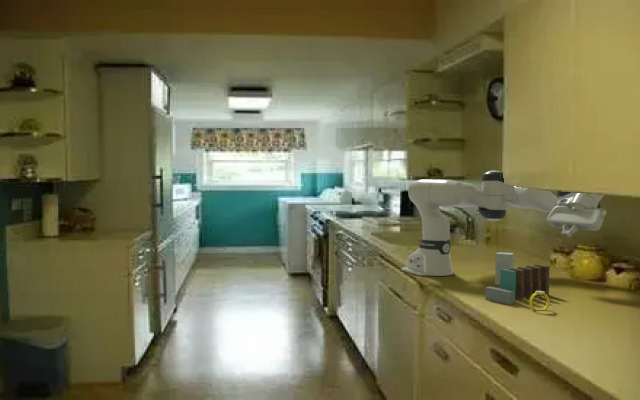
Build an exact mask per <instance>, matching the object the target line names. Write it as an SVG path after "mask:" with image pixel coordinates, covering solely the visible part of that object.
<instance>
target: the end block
mask: <svg viewBox="0 0 640 400" xmlns="http://www.w3.org/2000/svg"><path fill="white" fill-rule="evenodd" d="M484 290H485V295H484V296H485V297H484V300H488V301H491V300H492V301H491V302H497V303H500V302H501V303H500V304H504V303H505V305H515V301H516V299H515V292H514V291H510V290H505V289H500V287H499V288H498V287H493V286H485V289H484ZM514 300H515V301H514Z"/></svg>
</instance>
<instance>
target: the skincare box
mask: <svg viewBox="0 0 640 400" xmlns="http://www.w3.org/2000/svg"><path fill="white" fill-rule="evenodd" d="M494 264H495V267H494V269H495V274H494V275H495V278H494V279H495V280H494V281H495V282H494V283H495V284H494V285H495V286H500V273H501V269H506V270H509V268H515V253H513V252H496V253H495V263H494Z"/></svg>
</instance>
